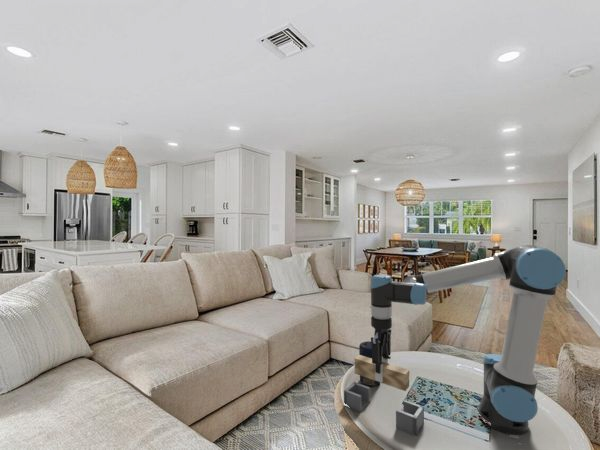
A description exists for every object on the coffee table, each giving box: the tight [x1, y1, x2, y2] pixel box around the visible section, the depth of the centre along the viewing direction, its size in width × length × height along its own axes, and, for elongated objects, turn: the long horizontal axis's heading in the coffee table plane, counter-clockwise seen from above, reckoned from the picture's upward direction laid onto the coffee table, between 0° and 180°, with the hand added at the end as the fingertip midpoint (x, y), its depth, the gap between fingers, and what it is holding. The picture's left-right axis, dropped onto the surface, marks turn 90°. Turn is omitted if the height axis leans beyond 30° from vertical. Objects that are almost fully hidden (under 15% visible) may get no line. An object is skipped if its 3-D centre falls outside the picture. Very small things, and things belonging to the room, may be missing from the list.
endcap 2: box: [395, 399, 425, 437], centre depth 109 cm, size 7×8×6 cm
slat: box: [354, 354, 410, 392], centre depth 116 cm, size 20×4×6 cm, turn 52°
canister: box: [358, 340, 381, 386], centre depth 139 cm, size 10×10×18 cm
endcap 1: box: [343, 381, 371, 413], centre depth 122 cm, size 7×8×6 cm
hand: (381, 378), depth 116 cm, fingers closed on slat, 4 cm apart
